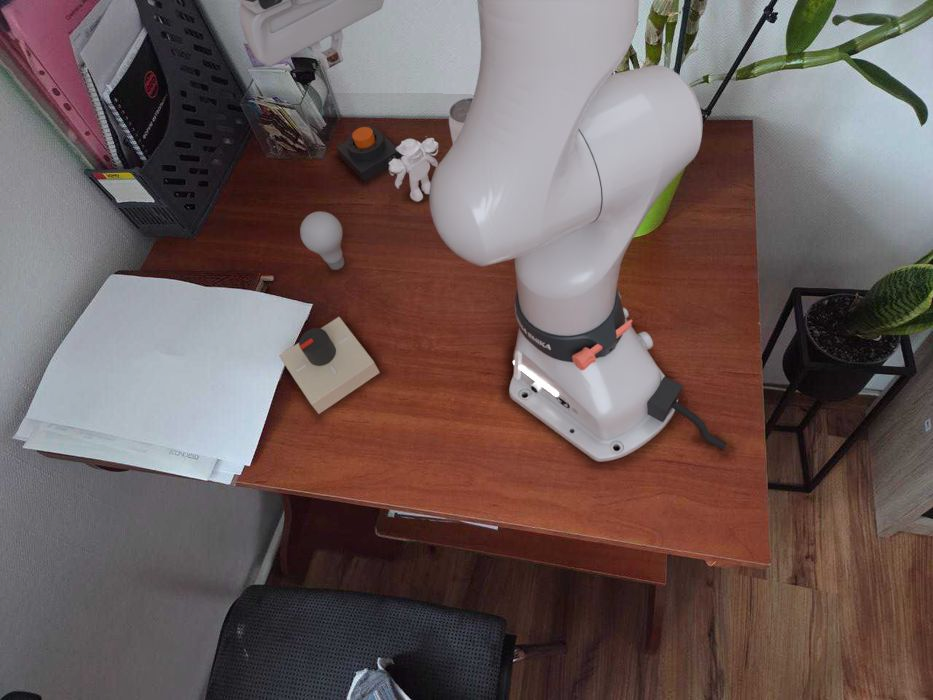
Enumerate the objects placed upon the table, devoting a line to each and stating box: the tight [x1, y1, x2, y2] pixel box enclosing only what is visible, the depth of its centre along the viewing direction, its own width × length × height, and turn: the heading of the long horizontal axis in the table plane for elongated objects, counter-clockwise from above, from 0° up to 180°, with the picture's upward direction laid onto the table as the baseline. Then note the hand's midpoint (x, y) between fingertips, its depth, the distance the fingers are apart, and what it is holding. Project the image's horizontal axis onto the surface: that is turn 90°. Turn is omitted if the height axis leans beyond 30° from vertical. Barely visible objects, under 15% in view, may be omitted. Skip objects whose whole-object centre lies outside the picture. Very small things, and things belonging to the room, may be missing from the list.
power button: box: [351, 126, 375, 149], centre depth 106 cm, size 4×4×2 cm
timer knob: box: [298, 327, 336, 366], centre depth 83 cm, size 4×4×4 cm
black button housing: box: [336, 125, 403, 183], centre depth 108 cm, size 9×8×4 cm
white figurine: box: [388, 137, 439, 202], centre depth 98 cm, size 9×4×12 cm, turn 126°
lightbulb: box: [299, 210, 346, 271], centre depth 92 cm, size 6×6×11 cm
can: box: [448, 97, 473, 145], centre depth 99 cm, size 6×6×12 cm
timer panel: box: [278, 316, 380, 415], centre depth 86 cm, size 10×10×3 cm
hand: (333, 63), depth 91 cm, fingers closed
